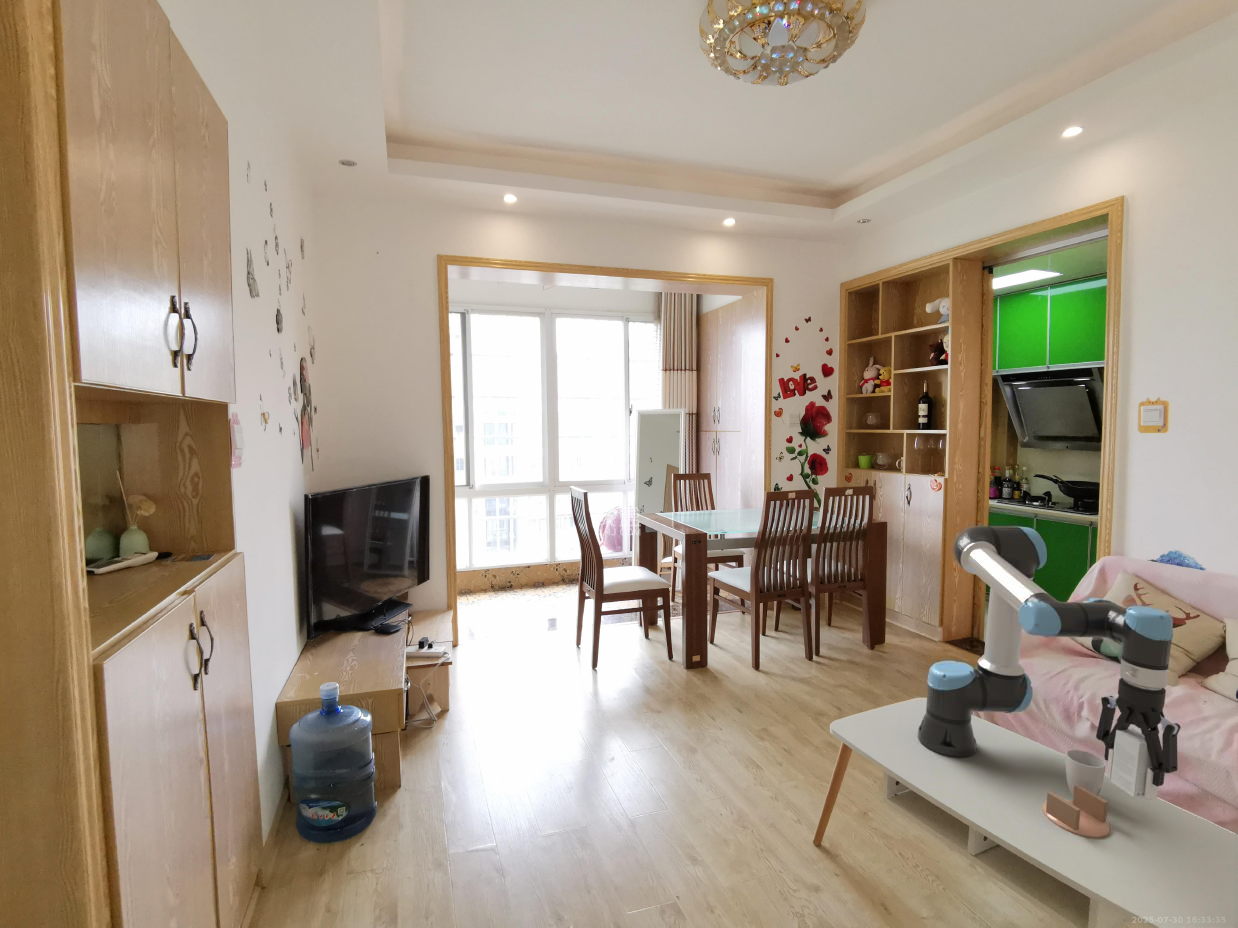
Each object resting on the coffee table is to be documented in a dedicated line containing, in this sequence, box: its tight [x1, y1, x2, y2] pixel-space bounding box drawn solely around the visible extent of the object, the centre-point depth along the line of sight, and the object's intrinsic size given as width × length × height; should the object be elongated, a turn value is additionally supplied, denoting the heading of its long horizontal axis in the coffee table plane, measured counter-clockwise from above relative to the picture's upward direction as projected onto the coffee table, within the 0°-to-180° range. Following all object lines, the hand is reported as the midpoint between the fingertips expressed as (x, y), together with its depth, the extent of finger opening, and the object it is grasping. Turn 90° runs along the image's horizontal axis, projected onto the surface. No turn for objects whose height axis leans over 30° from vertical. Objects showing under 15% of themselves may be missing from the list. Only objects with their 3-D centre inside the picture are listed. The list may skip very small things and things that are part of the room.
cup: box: [1065, 749, 1107, 797], centre depth 160 cm, size 8×8×10 cm
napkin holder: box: [1042, 785, 1111, 839], centre depth 151 cm, size 13×13×6 cm
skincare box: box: [1109, 728, 1152, 799], centre depth 133 cm, size 6×4×12 cm
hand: (1131, 786), depth 133 cm, fingers closed on skincare box, 7 cm apart
